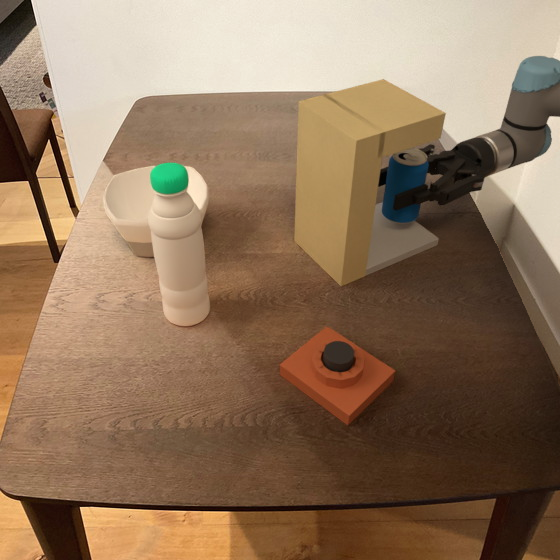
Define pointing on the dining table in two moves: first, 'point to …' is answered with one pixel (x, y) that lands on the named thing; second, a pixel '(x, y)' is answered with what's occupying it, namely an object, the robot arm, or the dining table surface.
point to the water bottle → (178, 246)
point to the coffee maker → (357, 177)
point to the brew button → (338, 356)
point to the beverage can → (404, 183)
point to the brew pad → (337, 377)
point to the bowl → (143, 205)
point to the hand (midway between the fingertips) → (381, 192)
